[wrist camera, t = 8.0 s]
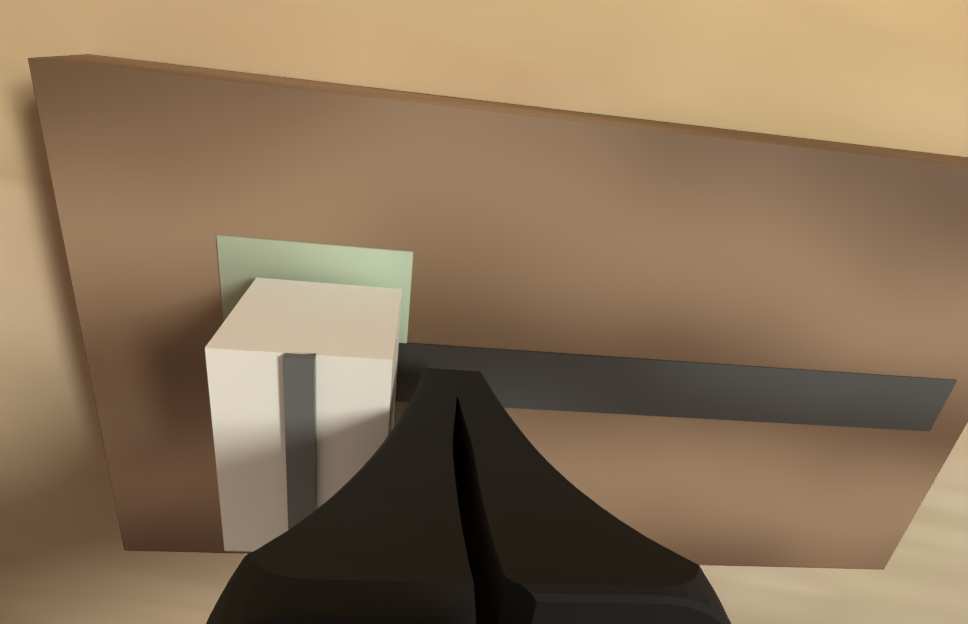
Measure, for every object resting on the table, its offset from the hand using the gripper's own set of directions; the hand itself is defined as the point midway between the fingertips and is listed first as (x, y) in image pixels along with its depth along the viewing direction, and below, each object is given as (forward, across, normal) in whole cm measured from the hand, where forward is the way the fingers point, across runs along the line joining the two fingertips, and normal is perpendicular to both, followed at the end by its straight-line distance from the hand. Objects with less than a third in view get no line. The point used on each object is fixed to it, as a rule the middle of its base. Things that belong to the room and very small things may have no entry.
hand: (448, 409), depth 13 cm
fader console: (+3, -3, 0) cm, 5 cm away
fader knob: (+1, +3, 0) cm, 3 cm away
